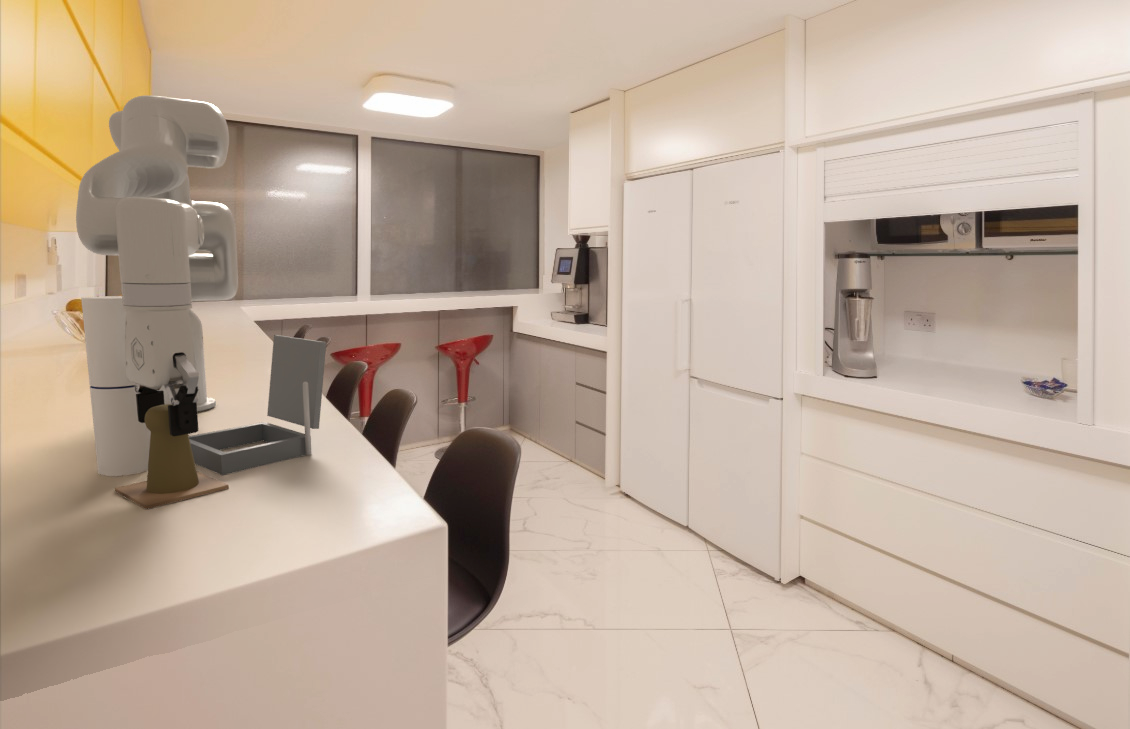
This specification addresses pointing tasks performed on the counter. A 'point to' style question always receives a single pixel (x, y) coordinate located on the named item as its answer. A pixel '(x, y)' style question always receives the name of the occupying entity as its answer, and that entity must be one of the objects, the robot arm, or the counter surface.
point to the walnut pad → (151, 500)
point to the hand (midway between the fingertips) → (167, 427)
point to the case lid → (296, 379)
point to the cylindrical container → (113, 390)
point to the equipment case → (277, 449)
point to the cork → (168, 456)
